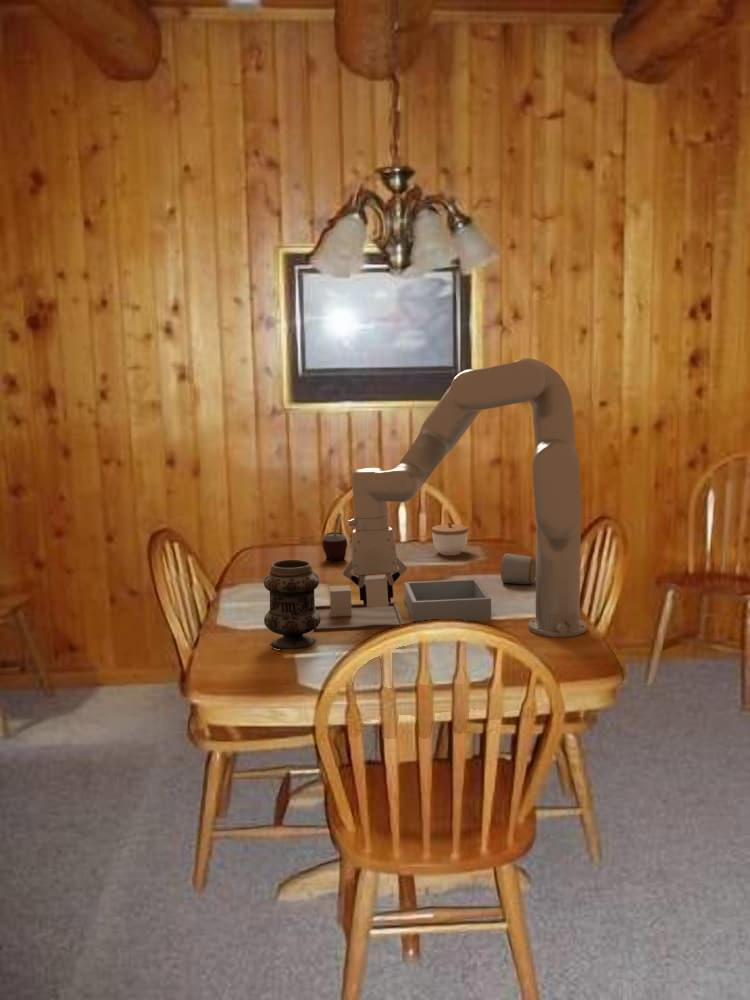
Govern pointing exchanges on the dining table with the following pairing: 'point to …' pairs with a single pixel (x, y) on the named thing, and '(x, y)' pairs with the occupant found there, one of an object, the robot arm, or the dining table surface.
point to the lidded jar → (450, 538)
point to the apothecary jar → (292, 603)
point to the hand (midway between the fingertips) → (376, 601)
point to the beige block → (376, 591)
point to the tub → (447, 600)
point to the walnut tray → (360, 618)
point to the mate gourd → (335, 545)
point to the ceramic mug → (518, 569)
